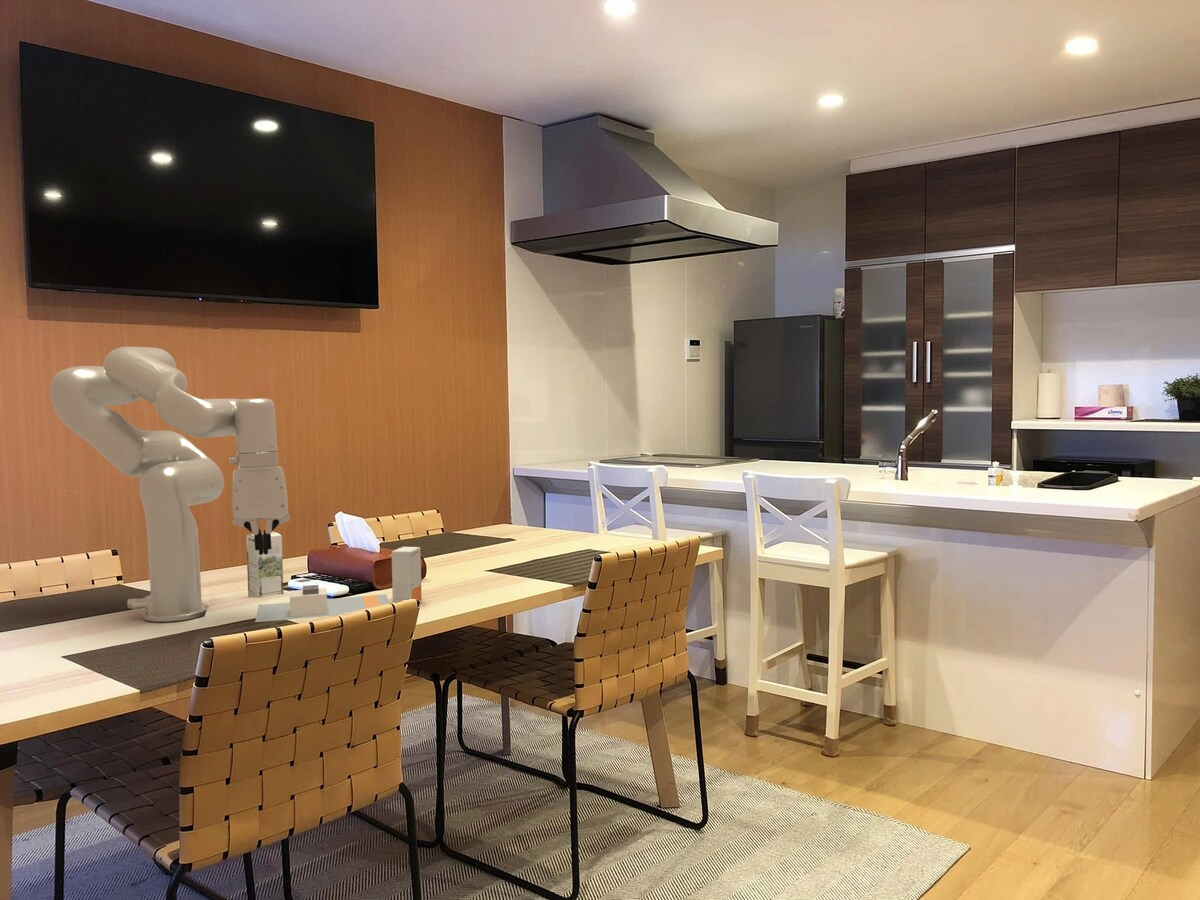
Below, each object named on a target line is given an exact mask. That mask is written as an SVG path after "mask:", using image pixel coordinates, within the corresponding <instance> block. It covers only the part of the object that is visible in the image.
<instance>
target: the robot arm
mask: <svg viewBox="0 0 1200 900" xmlns="http://www.w3.org/2000/svg"><path fill="white" fill-rule="evenodd" d="M187 389H188V378H187V376H186V374H184V373H183V371H181V370H180V369H178V368H177V364H176V361H175V359H174V356H172V355H171V354H170V353H169V352H168V351H166V350H164V349H163V348H160V347H151V346H150V347H148V346H146V347H144V346H121V347H118V348H114V349H113V350H111V351H110V352H109V353H107V354H106V356H105V358H104V360H103V365H102V366H100V365H79V366H71V367H67V368H65V369H62V370H61V371H59V372H57V373H56V374H55V375H54V376H53V378H52V379H51V382H50V385H49V394H50V400H51V401H50V402H51V404H52V407H53V409H54V412H55V413H56V415H57V417H58V418H59V420H60V421H61V422H63V424H64V425H65V426H66V427H67V428H68V429H69V430H71V431H72V432H73V433H74V434H76V435H77V436H79V438H81V439H83V440H84V441H85V442H87V444H89V446H92V447H93V449H95V451H96V452H98V453H99V454H100V455H101V456H102V457H104V459H106V460H107V461H108V462H109V463H110V464H112V466H114V467H115V468H116V469H117V470H118V471H119V472H120V473H122V474H124V476H127V477H129V478H130V477H131V478H140V479H139V482H138V490H139V496H140V499H141V504H142V507H143V512H144V516H145V524H146V536H147V537H146V538H147V549H148V552H147V553H148V554H147V555H148V568H149V569H148V571H149V587H150V594H149V595H147V596H144V597H143V598H128V599H127V609H129V610H130V609H132V610H140V609H144V610H145V611H143V613H142V615H143V616H142V617H143V618H142V619H144V620H145V621H147V622H148V621H149V622H155V623H157V622H158V623H159V622H160V623H161V622H163V623H165V622H167V623H168V622H170V623H171V622H178V621H185V620H191V619H195V618H199V617H203V616H205V615H206V613H207V611H208V609H209V608H210V607H211V606H210V604H209V603H205V602H203V601H202V600H203V599H202V582H201V562H200V561H201V560H200V543H199V540H200V539H199V529H198V528H199V527H198V524H197V521H196V519H195V517H194V514H193V513H192V511H191V509H190V506H191V507H192V506H196V505H202V504H206V503H209V502H212V501H214V500H216V499H218V498H219V497H220V495H221V494H222V493H223V491H224V487H225V479H224V475H223V472H222V471H221V469H220V467H219V466H218V465H217V464H216V462H214V460H212V459H211V457H209V456H208V455H206V454H205V452H203V451H202V450H201V449H200V448H198V446H196V445H195V444H193V442H191V441H190V440H189V439H188V438H186V437H185V436H184V435H183V434H180V433H178V432H175V431H172V430H166V429H165V430H164V429H162V430H161V429H158V430H143V429H139V428H138V427H136V426H135V425H134V424H132V423H131V422H130V421H128V419H126V418H125V417H124V416H123V415H121V414H120V413H118V412H117V411H114V410H112V409H110V408H108V407H110V406H124V405H128V404H131V403H134V402H137V401H138V400H141V399H143V400H144V401H146V402H148V403H150V404H152V405H153V406H154V408H155V410H156V412H157V414H158V416H159V417H160V418H161V420H162V421H163V422H164V423H166V424H168V425H169V426H170V427H172V428H174V429H177V431H180V432H182V433H184V434H185V435H188V436H190V437H192V438H193V437H194V438H200V439H207V438H217V437H232V436H233V437H234V436H235V441H236V442H235V443H236V444H235V445H236V446H235V447H236V454H235V455H233V456H229V458H228V461H229V464H231V465H232V464H234V465H235V466H237V468H235V469H233V472H232V481H231V503H232V516H233V518H232V522H231V523H232V524H231V525H233V526H234V527H240V528H245V529H247V531H249V532H250V533H251V534H253V535H254V539H255V551H256V550H259V555H262V554H263V550H264V554H265V555H266V554H268V549H271V532H274V530H275V529H276V528H277V526H279V525H282V524H285V523H288V522H290V521H291V516H290V513H289V510H288V509H289V503H288V491H287V481H286V477H285V473H284V469H283V467H282V466H279V452H278V439H277V420H276V406H275V402H274V401H273V400H272V399H270V398H264V397H263V398H262V397H260V398H259V397H256V398H255V397H254V398H243V399H242V398H203V399H202V398H199V397H196V396H194V395H191V394H190V393H187ZM259 520H265V529H264V530H263V532H262V530H261V529H260V527H259V522H258V521H259ZM261 533H263V535H262V534H261Z"/></svg>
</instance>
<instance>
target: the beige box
mask: <svg viewBox="0 0 1200 900" xmlns="http://www.w3.org/2000/svg"><path fill="white" fill-rule="evenodd" d="M327 599H328V594H327V588H326V587H322V588H319V584H313V585H310V584H309V585H302V589H298V590H297V589H296V590H289V602H290V615H291V617H299V616H310V615H321V614H327Z"/></svg>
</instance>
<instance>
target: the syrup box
mask: <svg viewBox="0 0 1200 900" xmlns="http://www.w3.org/2000/svg"><path fill="white" fill-rule="evenodd" d="M263 533H264V532H261V534H262V535H263ZM245 540H246V541H245V543H246V546H245V547H246V565H247V567H246V568H247V569H246V570H247V591H248V594H247V597H249V598H250V597H256V598H257V597H258V598H263V597H269V596H274V595H284V592H285V591H284V571H283V570H284V569H283V567H284V565H283V537H282V534H280V533H278V532H275V531H272V532H271V549H268V554H266V555H265V554H264V550H263V554H262V555H259V550H256V551H255V539H254V535H253V533H251V534H246V537H245Z"/></svg>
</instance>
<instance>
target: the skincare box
mask: <svg viewBox="0 0 1200 900" xmlns="http://www.w3.org/2000/svg"><path fill="white" fill-rule="evenodd" d="M421 557H422V556H421V546H401V547H398V548H397V549H394V550H392V551H391V583H392V586H391V588H392V603H397V602H398V601H403V600H409V599H419V600H420V601H422V598H423V597H422V595H423V593H422V560H421V559H422V558H421Z"/></svg>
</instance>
